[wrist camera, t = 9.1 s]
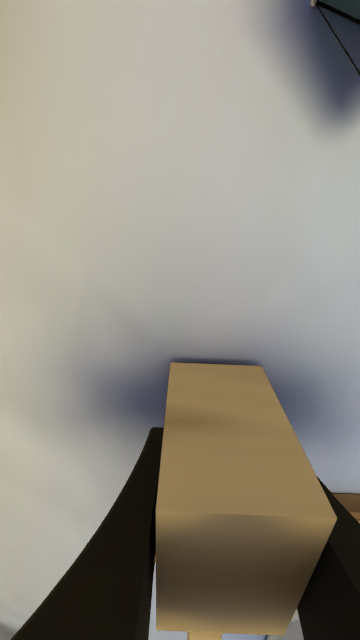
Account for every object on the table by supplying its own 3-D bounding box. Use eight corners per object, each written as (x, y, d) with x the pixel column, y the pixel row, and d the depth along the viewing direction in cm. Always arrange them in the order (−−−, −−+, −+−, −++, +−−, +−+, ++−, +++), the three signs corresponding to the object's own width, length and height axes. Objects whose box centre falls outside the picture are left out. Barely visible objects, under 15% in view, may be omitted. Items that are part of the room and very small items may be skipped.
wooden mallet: (228, 538, 16) (251, 707, 11) (166, 535, 16) (157, 702, 11) (261, 365, 11) (337, 518, 6) (170, 362, 11) (156, 510, 6)
